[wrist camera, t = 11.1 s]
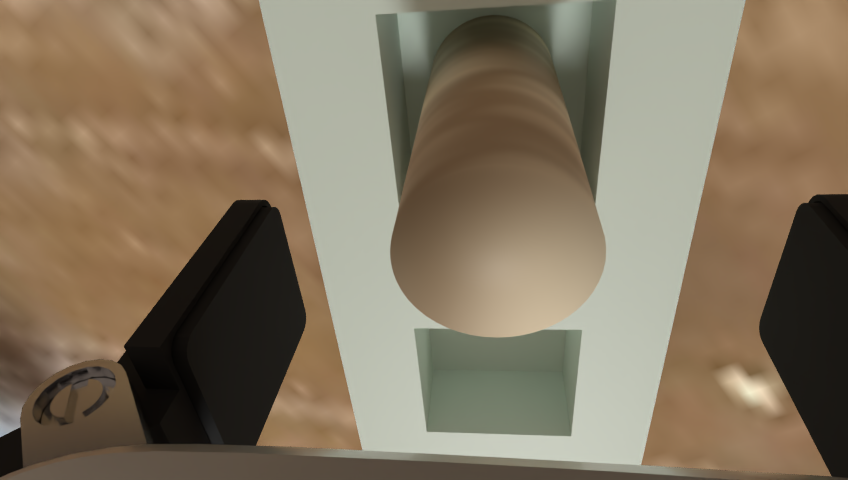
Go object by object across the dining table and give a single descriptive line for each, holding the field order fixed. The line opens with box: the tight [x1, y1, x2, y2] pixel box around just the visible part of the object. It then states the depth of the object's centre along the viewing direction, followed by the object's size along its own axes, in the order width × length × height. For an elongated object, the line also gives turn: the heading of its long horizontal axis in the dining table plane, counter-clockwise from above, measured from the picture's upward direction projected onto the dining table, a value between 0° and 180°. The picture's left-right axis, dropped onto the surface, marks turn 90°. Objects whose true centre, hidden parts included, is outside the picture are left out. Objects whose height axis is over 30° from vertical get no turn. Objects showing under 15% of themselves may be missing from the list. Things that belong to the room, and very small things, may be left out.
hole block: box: [259, 0, 745, 465], centre depth 21 cm, size 12×22×4 cm, turn 5°
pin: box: [390, 15, 606, 338], centre depth 15 cm, size 4×4×10 cm
